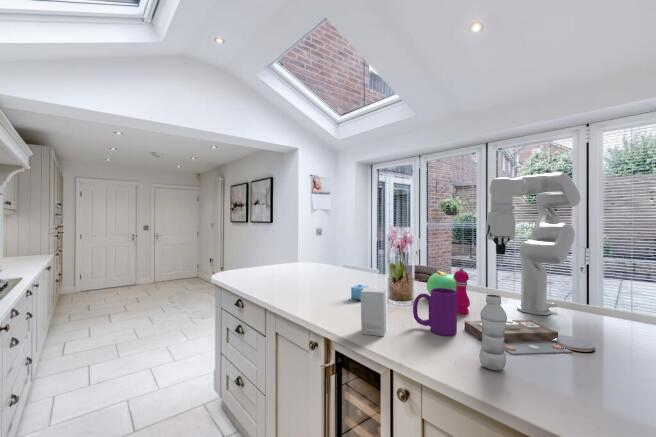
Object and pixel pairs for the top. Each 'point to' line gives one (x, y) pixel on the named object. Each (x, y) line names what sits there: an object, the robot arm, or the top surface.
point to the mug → (439, 311)
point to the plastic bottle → (493, 334)
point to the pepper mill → (462, 291)
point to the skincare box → (373, 311)
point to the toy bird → (441, 281)
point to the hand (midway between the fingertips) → (500, 254)
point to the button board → (517, 332)
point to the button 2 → (529, 325)
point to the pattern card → (534, 348)
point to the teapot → (357, 291)
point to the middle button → (511, 325)
